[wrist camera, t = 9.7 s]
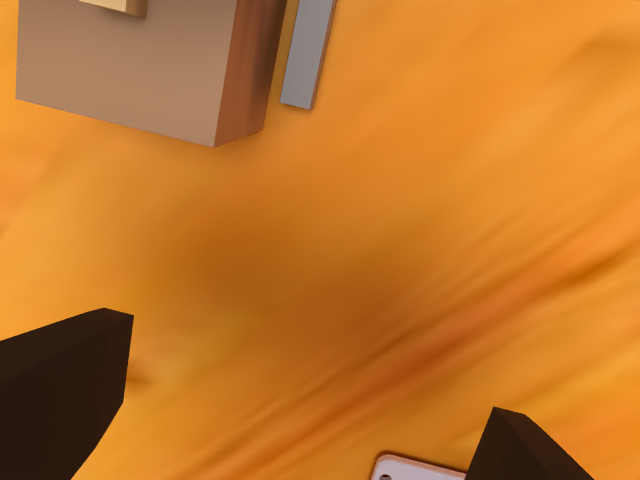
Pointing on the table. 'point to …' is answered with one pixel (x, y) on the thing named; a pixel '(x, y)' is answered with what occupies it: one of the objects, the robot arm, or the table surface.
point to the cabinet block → (153, 63)
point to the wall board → (307, 52)
